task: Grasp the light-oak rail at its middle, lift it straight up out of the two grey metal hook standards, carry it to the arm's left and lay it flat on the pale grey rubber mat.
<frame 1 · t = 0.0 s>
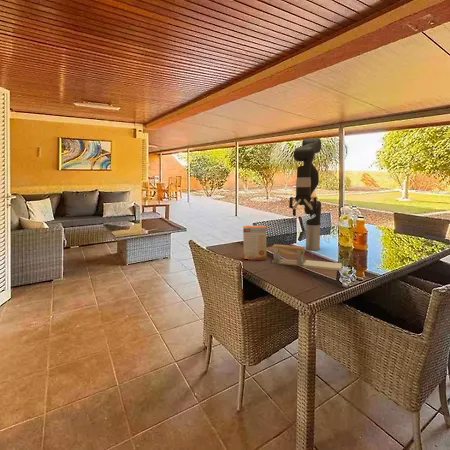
hand: (302, 216, 162), 29 cm above the table, fingers open, 8 cm apart
cracker box: (254, 259, 187), on the table
rail: (288, 252, 177), point 6 cm above the table, touching standards
standards: (288, 262, 178), on the table
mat: (322, 266, 170), on the table
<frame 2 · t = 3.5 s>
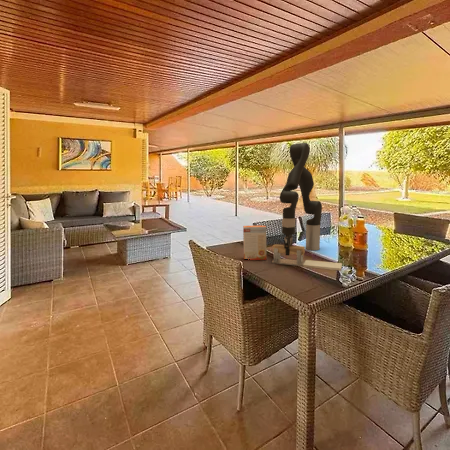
hand: (288, 254, 177), 5 cm above the table, fingers closed on rail, 4 cm apart
rail: (288, 252, 177), point 6 cm above the table, touching gripper, standards
everything else where it was.
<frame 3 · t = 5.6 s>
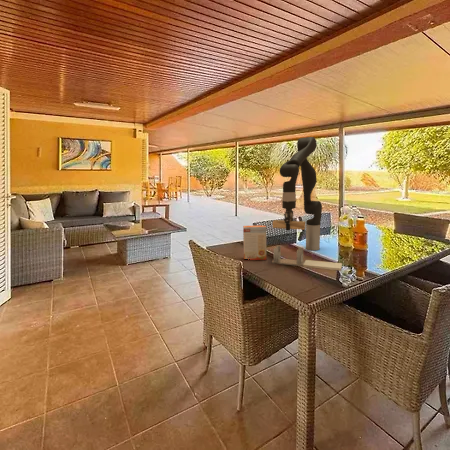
hand: (288, 229, 175), 20 cm above the table, fingers closed on rail, 4 cm apart
rail: (288, 228, 174), point 21 cm above the table, touching gripper
everything else where it was.
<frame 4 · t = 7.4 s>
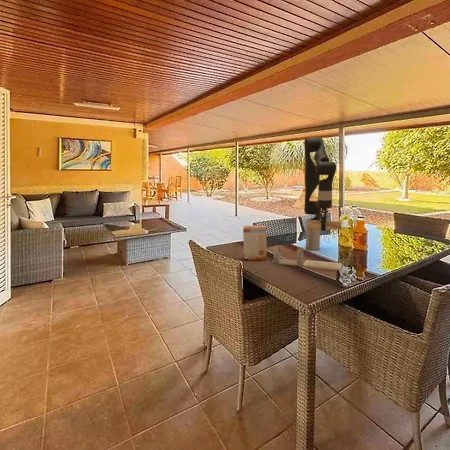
hand: (323, 229, 167), 21 cm above the table, fingers closed on rail, 4 cm apart
rail: (323, 228, 167), point 22 cm above the table, touching gripper
everything else where it was.
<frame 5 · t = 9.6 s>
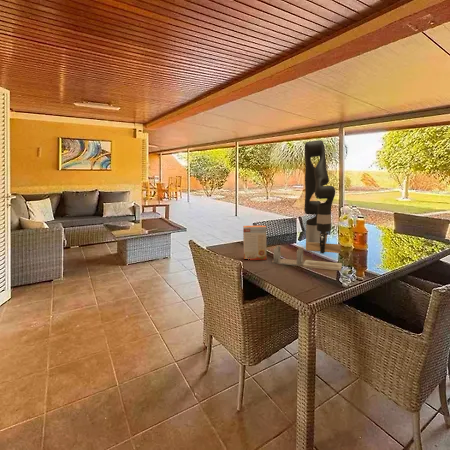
hand: (322, 252, 169), 8 cm above the table, fingers closed on rail, 4 cm apart
rail: (322, 250, 169), point 9 cm above the table, touching gripper
everything else where it was.
when the fingers open (2 cm above the table, at t = 11.3 s): rail drops 1 cm, resting on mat.
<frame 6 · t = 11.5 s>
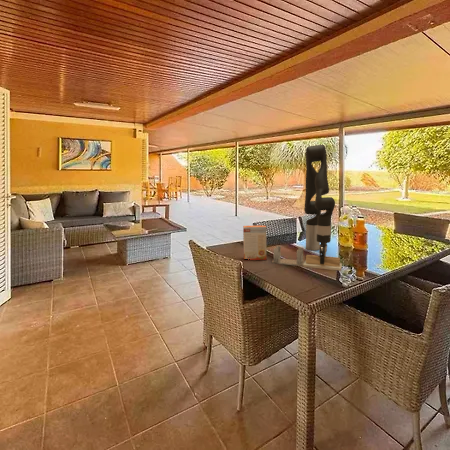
hand: (322, 262, 170), 2 cm above the table, fingers open, 5 cm apart
rail: (322, 263, 170), point 1 cm above the table, touching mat
everything else where it was.
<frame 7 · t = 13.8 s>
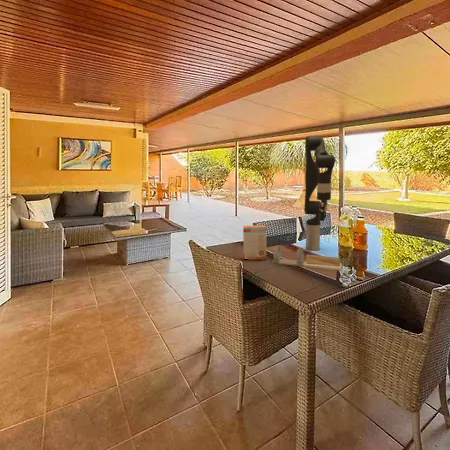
hand: (323, 219, 173), 26 cm above the table, fingers open, 8 cm apart
nothing on the table moved.
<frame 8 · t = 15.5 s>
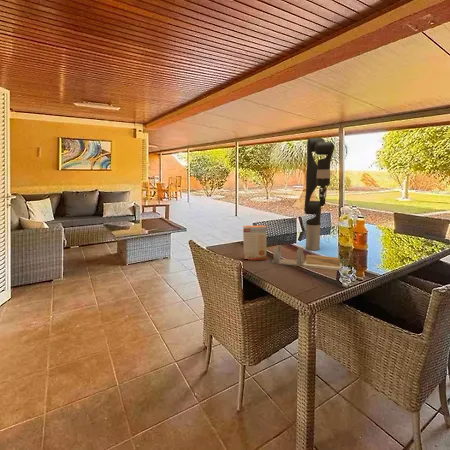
hand: (322, 205, 177), 33 cm above the table, fingers open, 8 cm apart
nothing on the table moved.
at the end: rail inside the target area on the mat (0.2 cm from its centre), point 1.2 cm above the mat's base; rail tilted 0°; rail touching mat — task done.
